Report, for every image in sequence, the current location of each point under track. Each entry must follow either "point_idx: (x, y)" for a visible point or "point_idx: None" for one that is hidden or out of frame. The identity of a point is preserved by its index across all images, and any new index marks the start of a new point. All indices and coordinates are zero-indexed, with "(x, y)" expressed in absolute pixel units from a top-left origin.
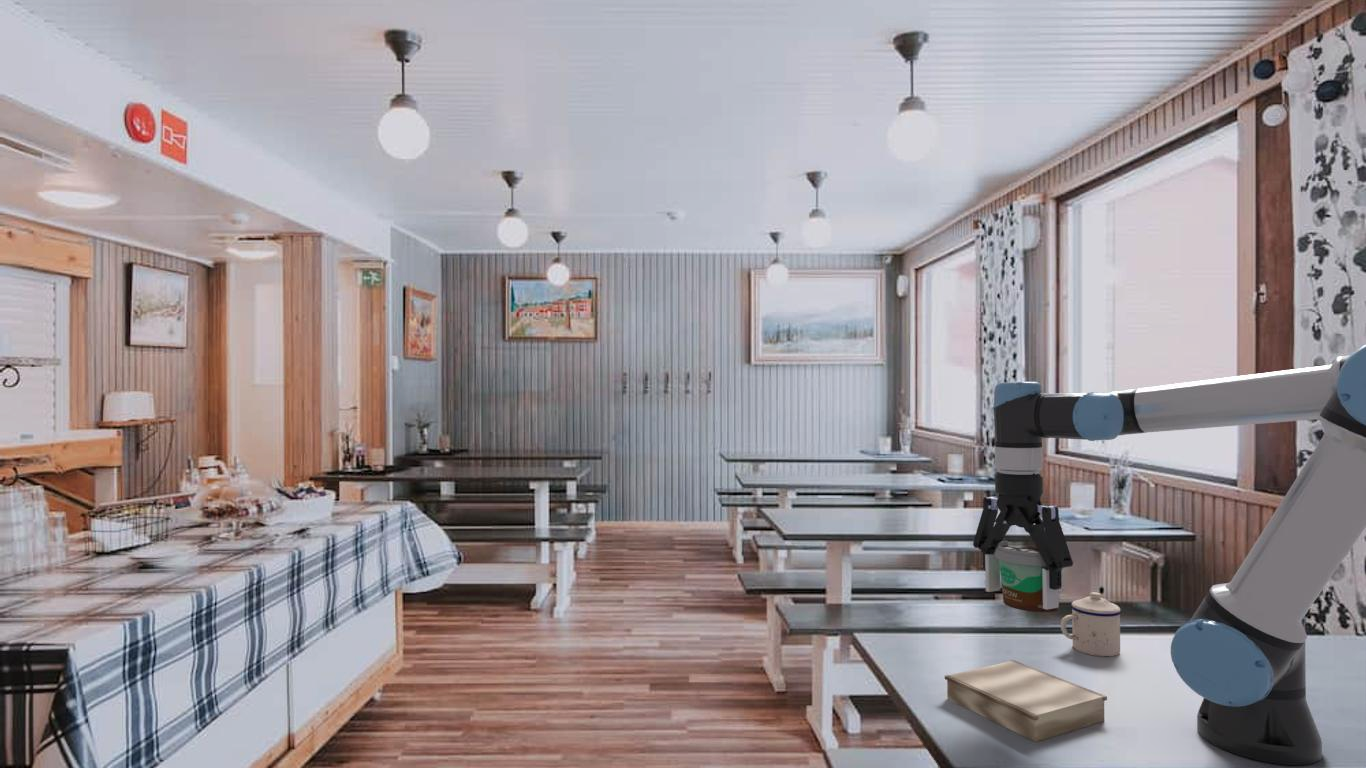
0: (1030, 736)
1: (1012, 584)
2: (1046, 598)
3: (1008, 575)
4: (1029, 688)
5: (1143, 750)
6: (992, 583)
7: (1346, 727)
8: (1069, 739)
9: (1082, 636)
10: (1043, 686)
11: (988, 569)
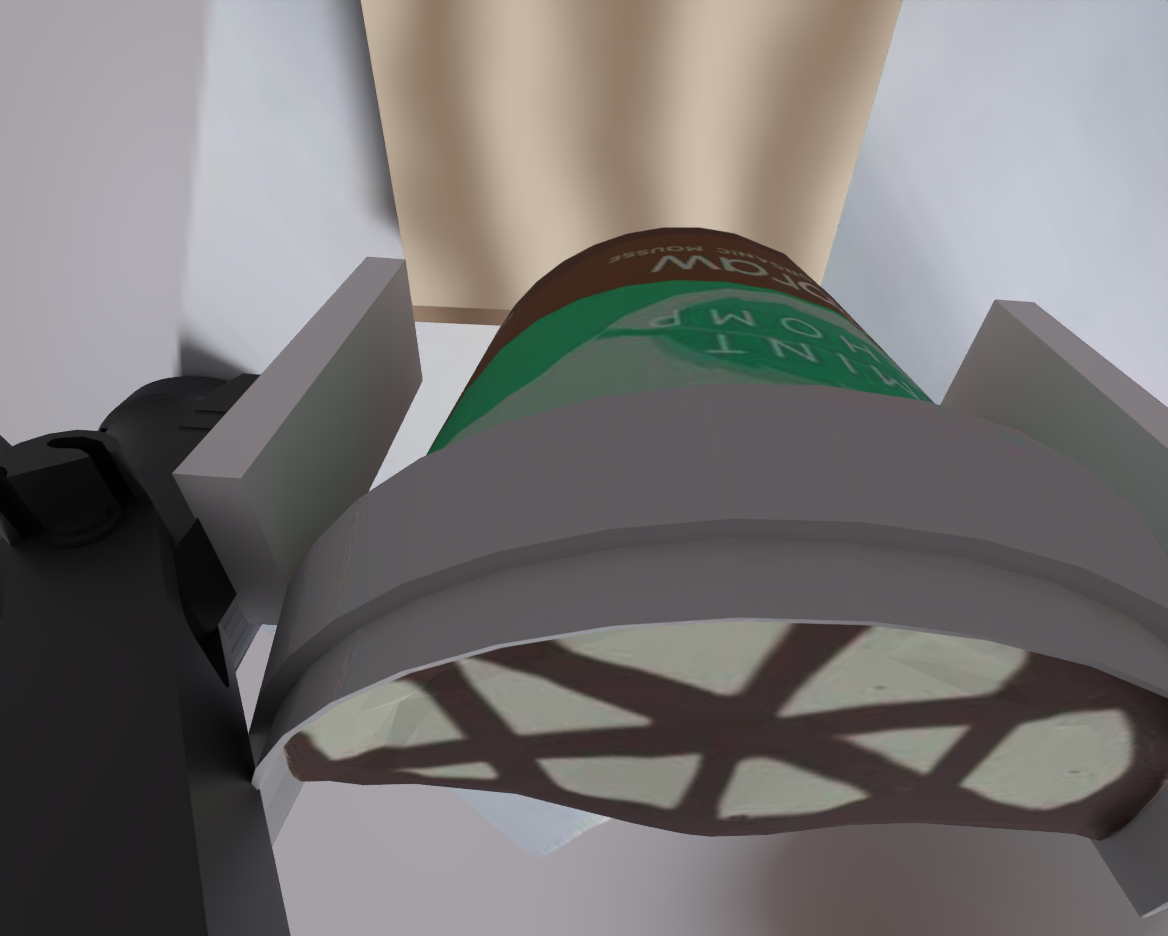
0: None
1: (707, 295)
2: (334, 295)
3: (780, 340)
4: (583, 120)
5: (236, 189)
6: (1009, 377)
7: (272, 628)
8: (356, 19)
9: None
10: (570, 199)
11: (1134, 418)
